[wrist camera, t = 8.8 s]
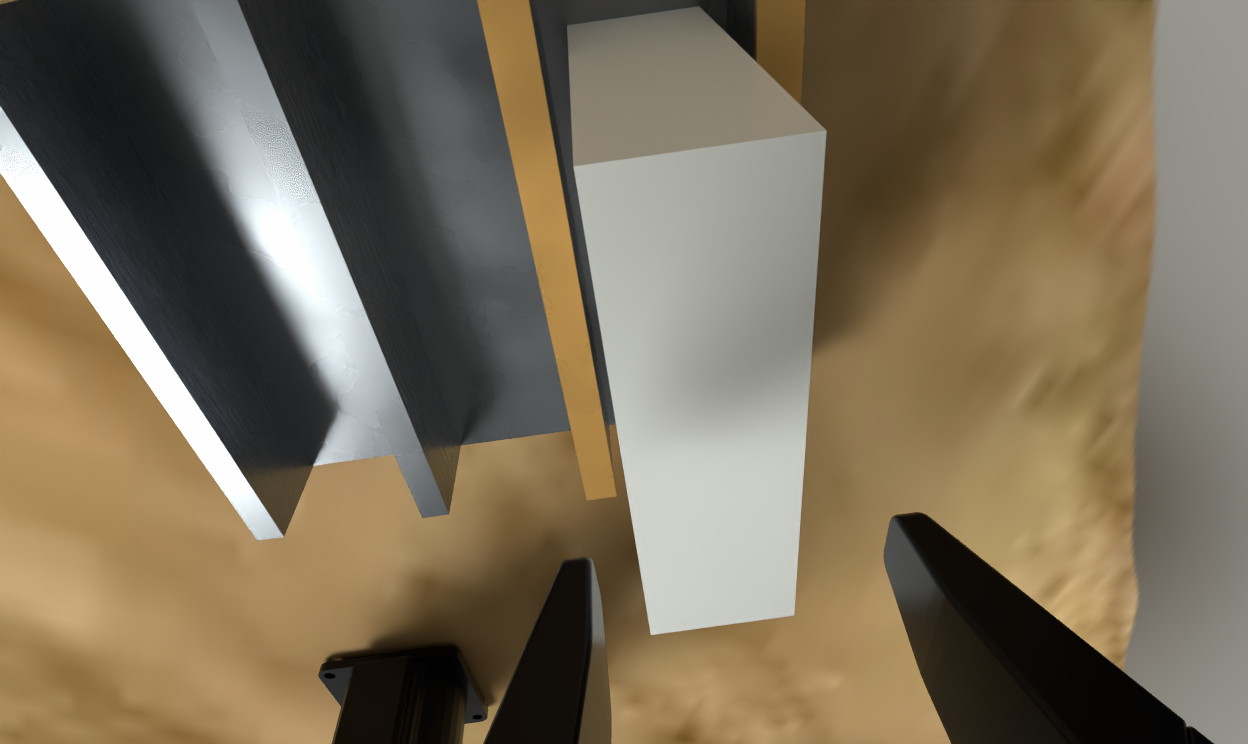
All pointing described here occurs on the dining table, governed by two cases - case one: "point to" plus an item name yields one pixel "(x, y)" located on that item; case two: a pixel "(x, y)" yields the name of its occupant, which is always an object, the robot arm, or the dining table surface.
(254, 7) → the rack
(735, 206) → the panel
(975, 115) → the dining table surface
